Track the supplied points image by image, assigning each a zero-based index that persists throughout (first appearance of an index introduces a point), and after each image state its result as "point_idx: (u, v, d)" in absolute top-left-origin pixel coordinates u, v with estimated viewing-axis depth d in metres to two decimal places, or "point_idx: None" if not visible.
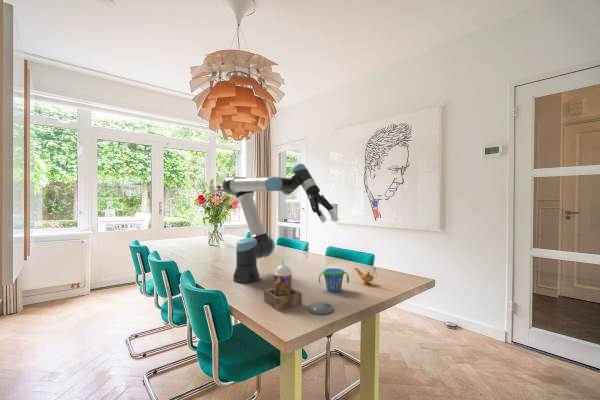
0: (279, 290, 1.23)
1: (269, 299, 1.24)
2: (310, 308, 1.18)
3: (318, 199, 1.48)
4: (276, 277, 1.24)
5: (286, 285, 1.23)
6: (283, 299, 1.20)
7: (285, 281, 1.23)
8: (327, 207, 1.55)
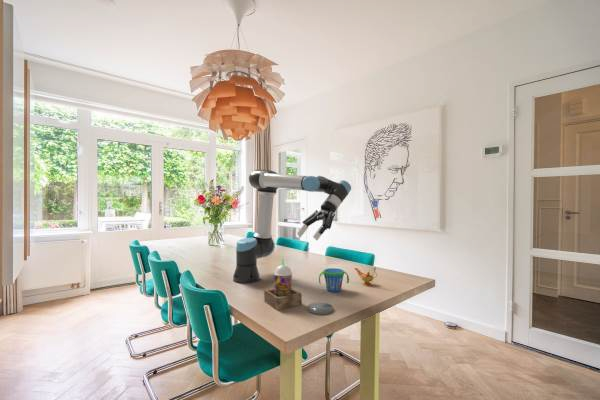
0: (279, 290, 1.23)
1: (269, 299, 1.24)
2: (310, 308, 1.18)
3: None
4: (276, 277, 1.24)
5: (286, 285, 1.23)
6: (283, 299, 1.20)
7: (285, 281, 1.23)
8: (309, 222, 1.42)
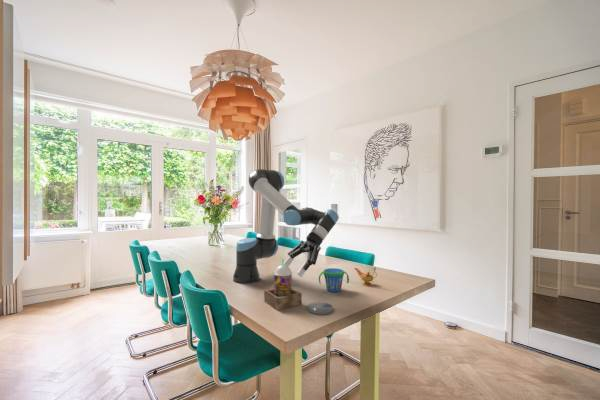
0: (279, 290, 1.23)
1: (269, 299, 1.24)
2: (310, 308, 1.18)
3: (312, 253, 1.31)
4: (276, 277, 1.24)
5: (286, 285, 1.23)
6: (283, 299, 1.20)
7: (285, 281, 1.23)
8: (294, 254, 1.36)
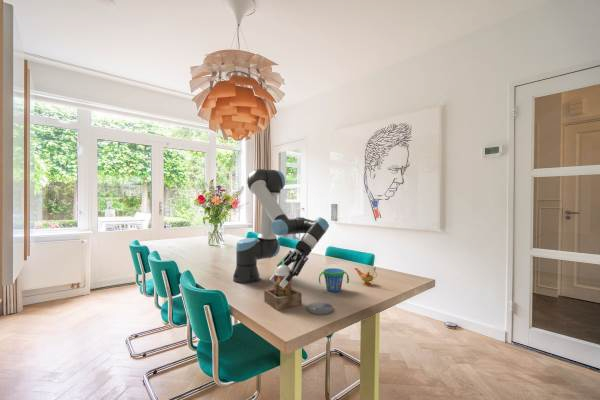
0: (279, 290, 1.23)
1: (269, 299, 1.24)
2: (310, 308, 1.18)
3: None
4: (276, 277, 1.24)
5: (286, 285, 1.23)
6: (283, 299, 1.20)
7: None
8: None
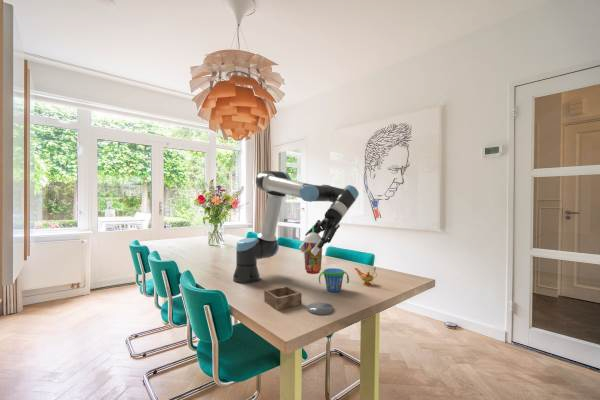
0: (310, 258, 1.17)
1: (269, 299, 1.24)
2: (310, 308, 1.18)
3: None
4: (307, 244, 1.17)
5: (317, 253, 1.17)
6: (283, 299, 1.20)
7: None
8: None
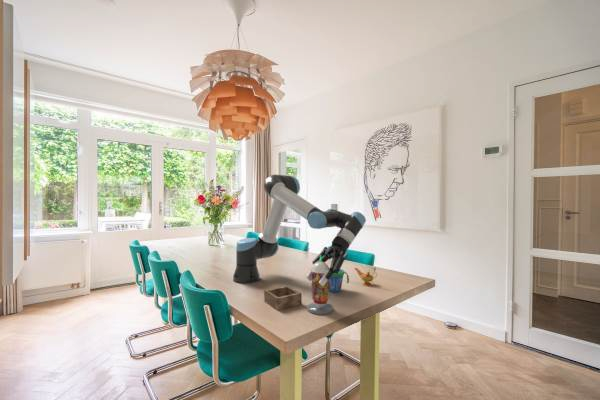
0: (318, 288, 1.16)
1: (269, 299, 1.24)
2: (310, 308, 1.18)
3: (337, 259, 1.21)
4: (314, 274, 1.16)
5: (325, 283, 1.16)
6: (283, 299, 1.20)
7: None
8: None
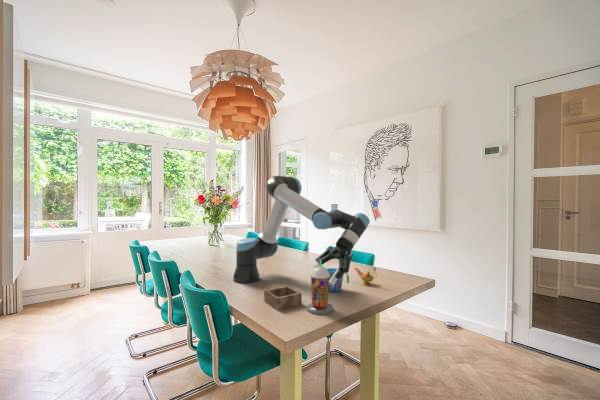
0: (317, 293, 1.16)
1: (269, 299, 1.24)
2: (310, 308, 1.18)
3: None
4: (314, 280, 1.16)
5: (325, 289, 1.16)
6: (283, 299, 1.20)
7: (324, 284, 1.16)
8: (323, 261, 1.27)
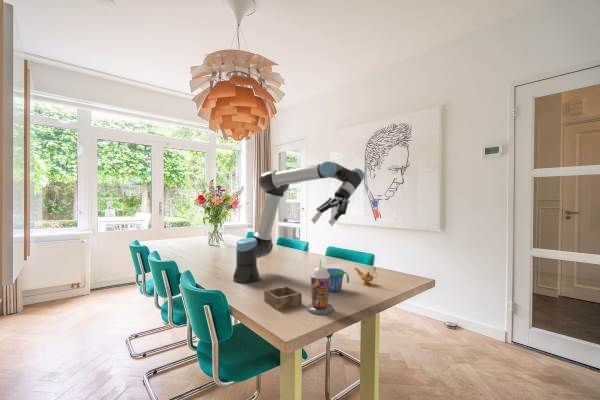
0: (317, 294, 1.16)
1: (269, 299, 1.24)
2: (310, 308, 1.18)
3: None
4: (314, 280, 1.16)
5: (325, 289, 1.16)
6: (283, 299, 1.20)
7: (324, 284, 1.16)
8: (323, 209, 1.44)
